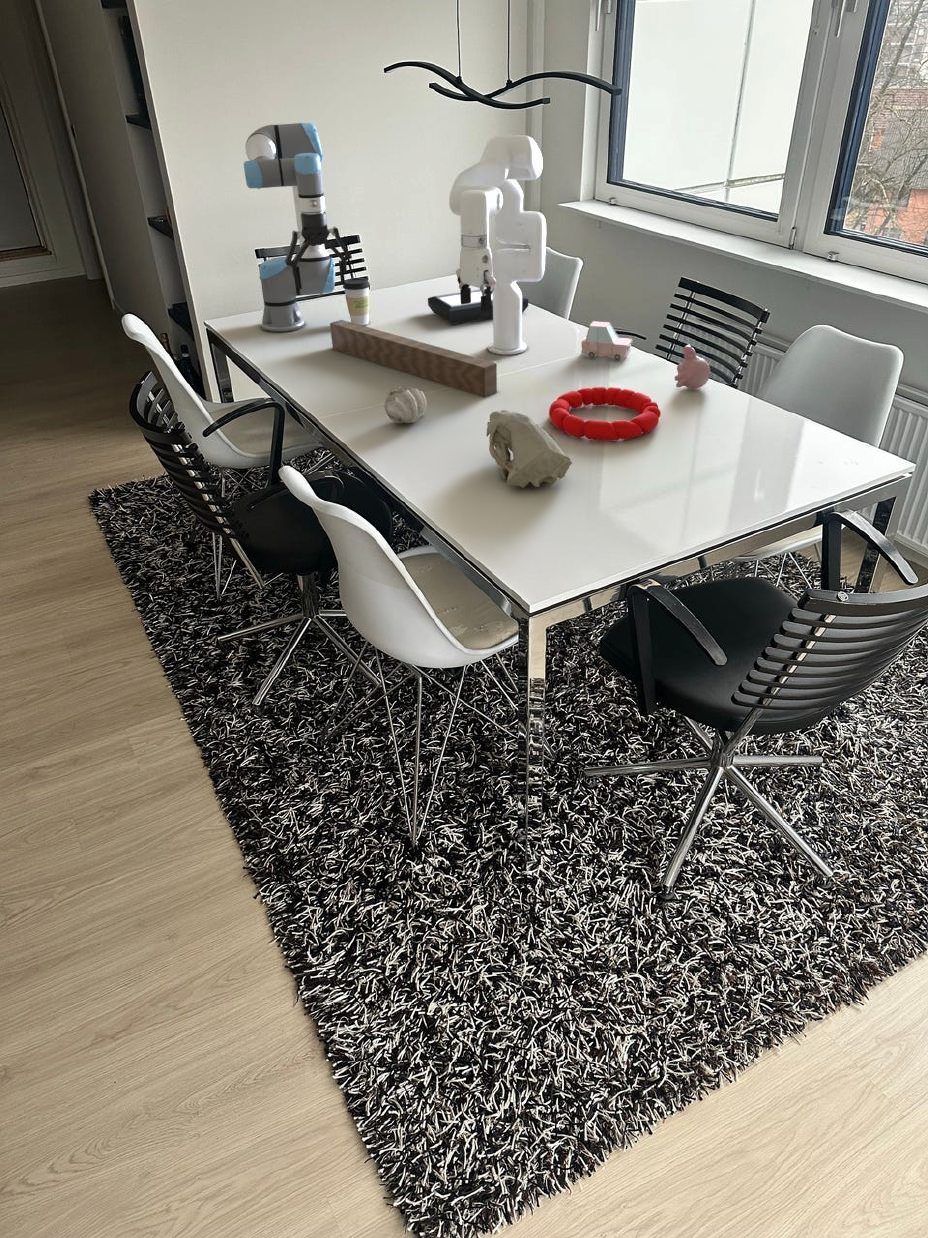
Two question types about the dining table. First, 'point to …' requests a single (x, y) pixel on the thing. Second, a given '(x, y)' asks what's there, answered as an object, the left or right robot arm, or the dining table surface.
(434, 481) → the dining table surface
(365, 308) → the coffee cup
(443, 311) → the electronic device
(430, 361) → the post
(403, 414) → the seashell
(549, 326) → the dining table surface
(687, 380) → the figurine
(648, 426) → the decorative ring
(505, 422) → the animal skull
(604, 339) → the toy car
